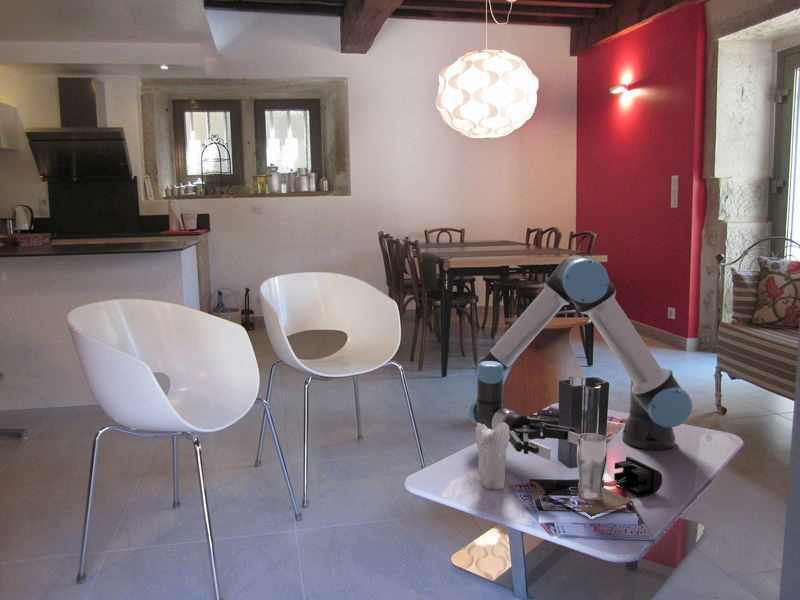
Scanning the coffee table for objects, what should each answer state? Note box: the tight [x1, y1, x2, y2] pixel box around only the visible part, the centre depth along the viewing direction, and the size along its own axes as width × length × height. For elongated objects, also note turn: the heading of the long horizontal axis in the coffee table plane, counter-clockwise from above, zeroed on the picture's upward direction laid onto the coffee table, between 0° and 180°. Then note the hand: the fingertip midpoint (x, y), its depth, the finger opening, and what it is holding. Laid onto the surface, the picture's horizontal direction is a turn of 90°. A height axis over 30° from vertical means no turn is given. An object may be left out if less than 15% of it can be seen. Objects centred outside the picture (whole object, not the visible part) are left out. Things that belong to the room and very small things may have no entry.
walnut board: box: [579, 486, 633, 517], centre depth 164 cm, size 14×14×1 cm
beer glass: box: [576, 432, 608, 502], centre depth 162 cm, size 7×7×15 cm
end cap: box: [613, 456, 663, 499], centre depth 171 cm, size 10×7×7 cm
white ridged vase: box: [474, 423, 510, 490], centre depth 171 cm, size 8×8×18 cm
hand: (569, 448), depth 168 cm, fingers open, 13 cm apart
